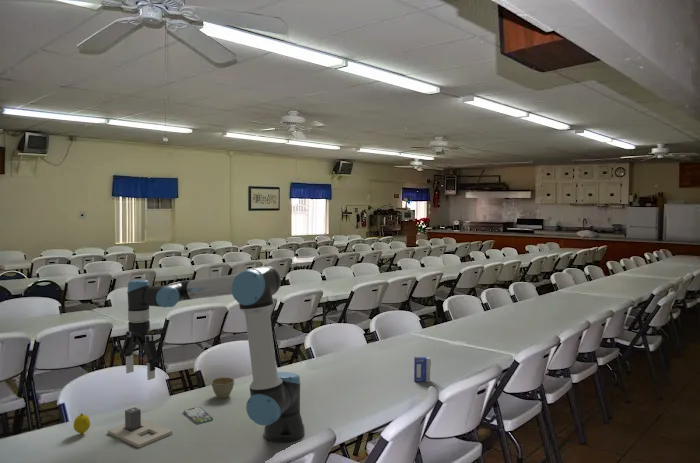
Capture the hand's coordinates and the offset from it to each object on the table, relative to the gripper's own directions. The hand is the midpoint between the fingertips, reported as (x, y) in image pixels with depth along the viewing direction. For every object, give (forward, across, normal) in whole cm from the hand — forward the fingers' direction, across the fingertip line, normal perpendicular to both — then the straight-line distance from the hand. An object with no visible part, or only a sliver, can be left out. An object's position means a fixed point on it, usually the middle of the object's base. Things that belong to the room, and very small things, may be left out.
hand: (140, 375), depth 199 cm
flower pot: (+21, +1, -42) cm, 47 cm away
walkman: (+22, -63, -113) cm, 131 cm away
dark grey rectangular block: (+21, +2, +2) cm, 21 cm away
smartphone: (+22, -8, -21) cm, 31 cm away
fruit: (+21, +14, +15) cm, 30 cm away
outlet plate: (+21, -3, +2) cm, 21 cm away
